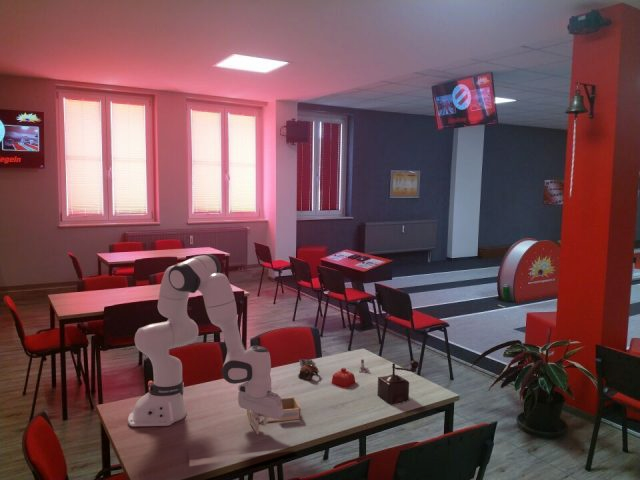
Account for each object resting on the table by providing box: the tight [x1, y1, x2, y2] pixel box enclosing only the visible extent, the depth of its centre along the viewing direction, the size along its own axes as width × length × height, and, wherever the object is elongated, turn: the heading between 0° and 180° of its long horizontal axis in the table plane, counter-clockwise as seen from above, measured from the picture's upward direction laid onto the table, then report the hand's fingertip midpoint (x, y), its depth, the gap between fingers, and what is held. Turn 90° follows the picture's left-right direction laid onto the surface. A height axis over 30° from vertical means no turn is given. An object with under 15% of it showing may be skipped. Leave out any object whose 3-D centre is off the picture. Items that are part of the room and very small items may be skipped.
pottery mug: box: [297, 363, 319, 381], centre depth 243 cm, size 12×9×8 cm
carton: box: [246, 396, 301, 426], centre depth 201 cm, size 20×10×5 cm, turn 106°
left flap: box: [249, 413, 260, 435], centre depth 189 cm, size 9×1×4 cm, turn 24°
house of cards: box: [359, 359, 370, 374], centre depth 251 cm, size 9×9×8 cm
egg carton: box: [299, 358, 317, 368], centre depth 256 cm, size 11×8×4 cm
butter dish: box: [331, 367, 358, 390], centre depth 236 cm, size 12×12×8 cm
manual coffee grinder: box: [377, 360, 420, 405], centre depth 220 cm, size 16×11×18 cm
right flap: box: [278, 407, 302, 422], centre depth 197 cm, size 9×1×4 cm, turn 106°
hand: (260, 423), depth 189 cm, fingers closed
